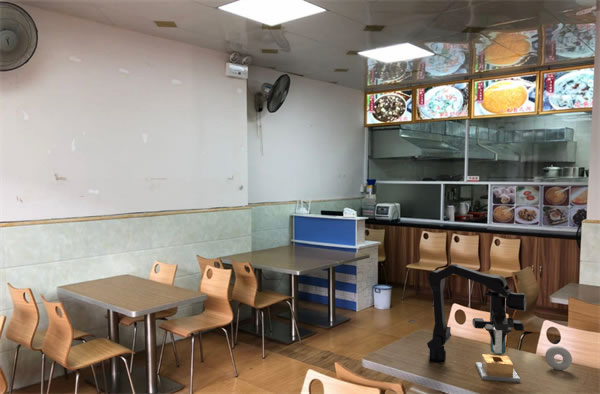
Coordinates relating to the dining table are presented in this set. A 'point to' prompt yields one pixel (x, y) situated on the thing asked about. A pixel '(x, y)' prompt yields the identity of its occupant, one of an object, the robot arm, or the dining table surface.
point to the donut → (561, 351)
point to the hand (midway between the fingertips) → (497, 345)
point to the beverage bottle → (502, 346)
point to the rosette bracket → (497, 368)
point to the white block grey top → (497, 341)
